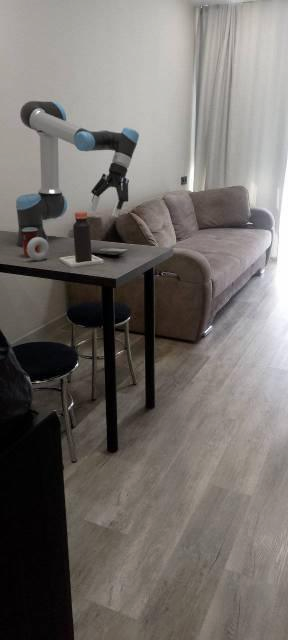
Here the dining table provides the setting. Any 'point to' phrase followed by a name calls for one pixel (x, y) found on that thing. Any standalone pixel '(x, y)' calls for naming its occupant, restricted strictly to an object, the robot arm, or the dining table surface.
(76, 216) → the vinegar
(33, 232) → the soda can
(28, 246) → the donut
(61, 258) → the tray
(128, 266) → the dining table surface
